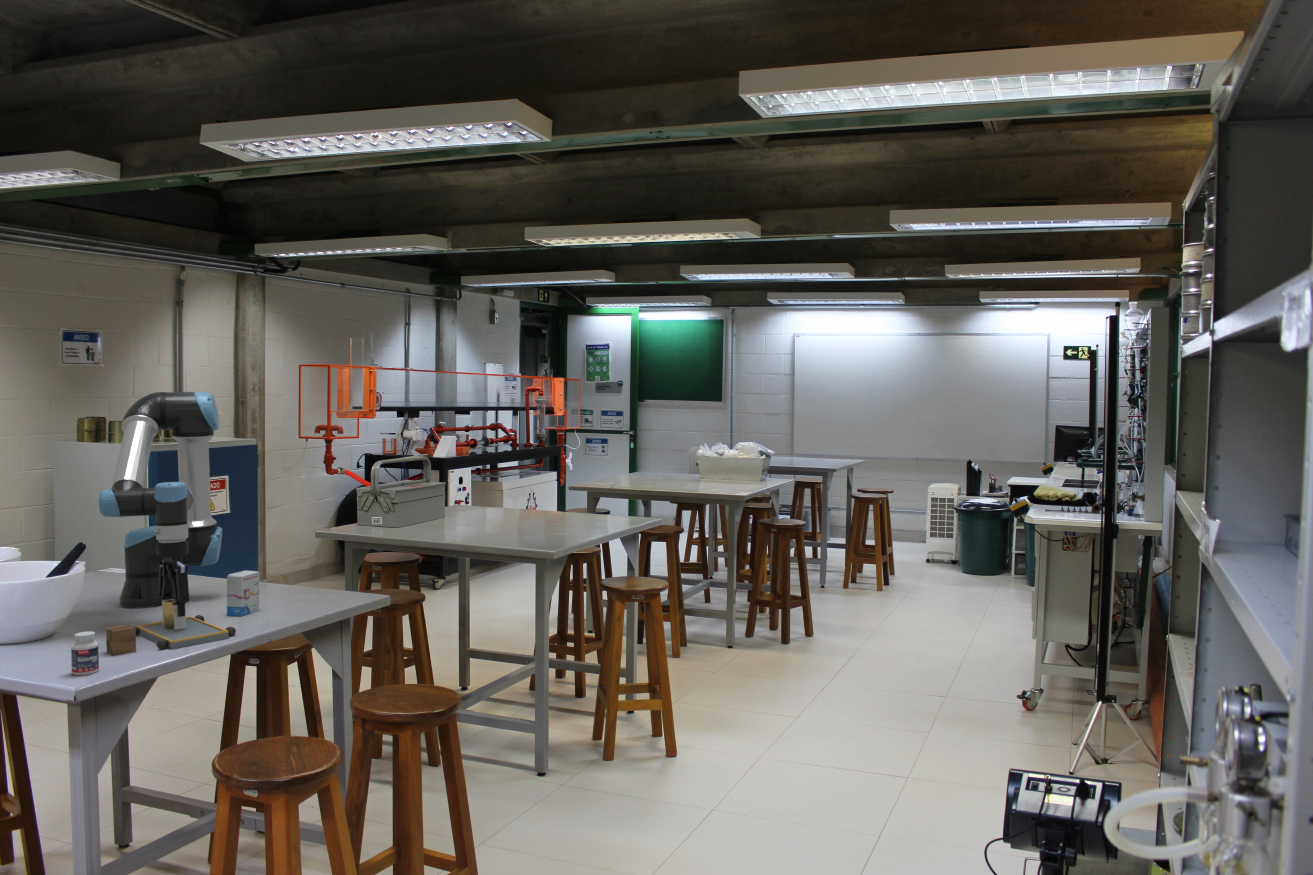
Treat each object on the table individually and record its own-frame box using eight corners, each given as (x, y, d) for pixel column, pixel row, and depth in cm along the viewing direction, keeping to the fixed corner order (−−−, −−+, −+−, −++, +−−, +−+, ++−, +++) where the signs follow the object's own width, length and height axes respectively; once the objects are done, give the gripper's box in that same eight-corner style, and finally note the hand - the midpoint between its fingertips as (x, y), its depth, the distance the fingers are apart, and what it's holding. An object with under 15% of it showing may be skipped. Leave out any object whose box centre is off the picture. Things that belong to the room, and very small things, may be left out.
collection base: (125, 635, 240) (125, 626, 240) (200, 621, 255) (200, 613, 254) (160, 651, 224) (160, 641, 224) (238, 636, 239) (238, 627, 238)
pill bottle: (76, 676, 204) (74, 637, 203) (68, 672, 207) (67, 633, 207) (102, 671, 208) (101, 633, 207) (94, 667, 211) (93, 629, 211)
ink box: (241, 616, 261) (240, 575, 260) (226, 615, 262) (225, 575, 261) (260, 610, 269) (259, 570, 269) (245, 609, 270) (244, 569, 270)
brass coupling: (162, 627, 242) (161, 601, 242) (179, 624, 246) (178, 598, 245) (168, 630, 239) (167, 603, 239) (185, 626, 243) (185, 600, 242)
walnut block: (106, 652, 224) (105, 628, 224) (129, 648, 228) (128, 624, 228) (113, 656, 221) (113, 631, 220) (136, 651, 224) (135, 627, 224)
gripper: (142, 538, 246) (145, 622, 246) (171, 545, 232) (174, 634, 233) (172, 535, 251) (174, 617, 252) (202, 542, 238) (204, 629, 239)
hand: (174, 625), depth 243 cm, fingers open, 7 cm apart
